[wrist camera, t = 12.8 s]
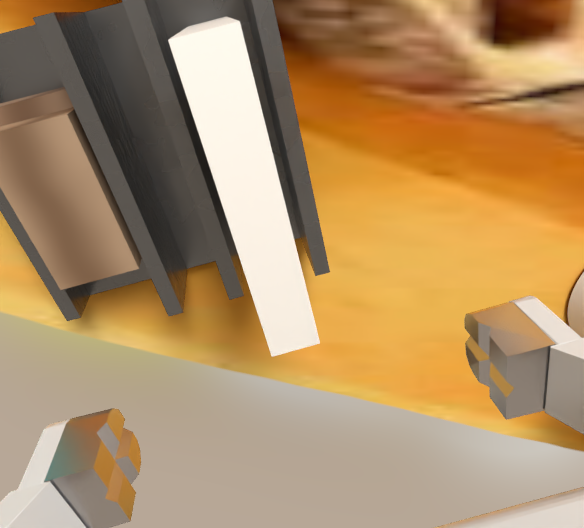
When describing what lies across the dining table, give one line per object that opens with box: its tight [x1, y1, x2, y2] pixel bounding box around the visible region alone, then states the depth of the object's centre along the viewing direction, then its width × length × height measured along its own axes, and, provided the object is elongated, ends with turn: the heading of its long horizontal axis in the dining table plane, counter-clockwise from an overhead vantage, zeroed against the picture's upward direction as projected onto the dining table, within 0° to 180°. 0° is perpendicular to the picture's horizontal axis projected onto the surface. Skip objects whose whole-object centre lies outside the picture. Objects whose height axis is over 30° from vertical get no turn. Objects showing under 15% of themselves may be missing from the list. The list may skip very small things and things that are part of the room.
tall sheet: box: [168, 16, 320, 357], centre depth 25 cm, size 2×14×15 cm, turn 13°
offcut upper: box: [0, 107, 142, 290], centre depth 28 cm, size 5×10×2 cm, turn 13°
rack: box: [0, 0, 330, 321], centre depth 29 cm, size 19×18×7 cm
